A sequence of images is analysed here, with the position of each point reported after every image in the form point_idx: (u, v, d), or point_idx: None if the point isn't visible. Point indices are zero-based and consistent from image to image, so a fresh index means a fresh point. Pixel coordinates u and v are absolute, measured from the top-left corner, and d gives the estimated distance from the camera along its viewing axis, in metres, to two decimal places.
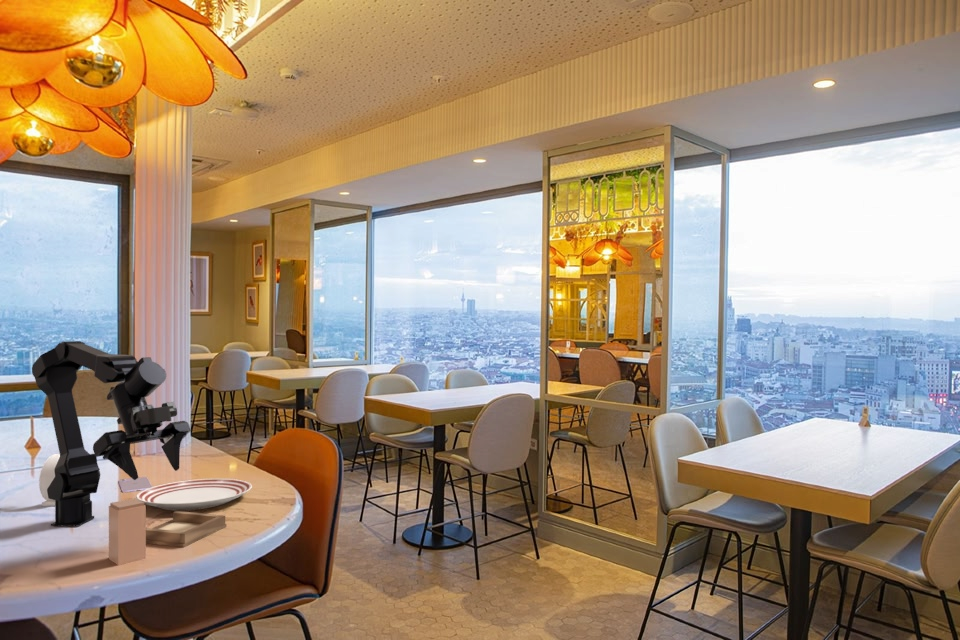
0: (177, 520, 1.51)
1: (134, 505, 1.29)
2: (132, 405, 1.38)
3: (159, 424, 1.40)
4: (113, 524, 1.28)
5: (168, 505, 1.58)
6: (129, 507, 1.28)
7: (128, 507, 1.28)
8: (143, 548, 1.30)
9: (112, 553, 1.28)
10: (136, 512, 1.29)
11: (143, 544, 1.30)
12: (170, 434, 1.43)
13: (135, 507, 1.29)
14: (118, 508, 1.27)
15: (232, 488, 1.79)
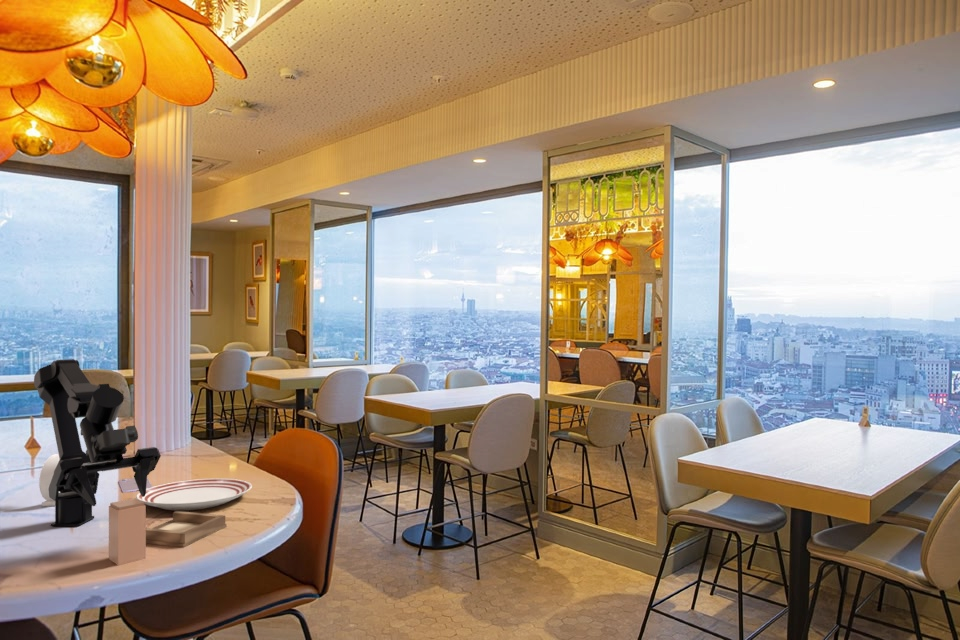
0: (177, 520, 1.51)
1: (134, 505, 1.29)
2: (95, 434, 1.37)
3: (123, 450, 1.37)
4: (113, 524, 1.28)
5: (168, 505, 1.58)
6: (129, 507, 1.28)
7: (128, 507, 1.28)
8: (143, 548, 1.30)
9: (112, 553, 1.28)
10: (136, 512, 1.29)
11: (143, 544, 1.30)
12: (138, 461, 1.40)
13: (135, 507, 1.29)
14: (118, 508, 1.27)
15: (232, 488, 1.79)
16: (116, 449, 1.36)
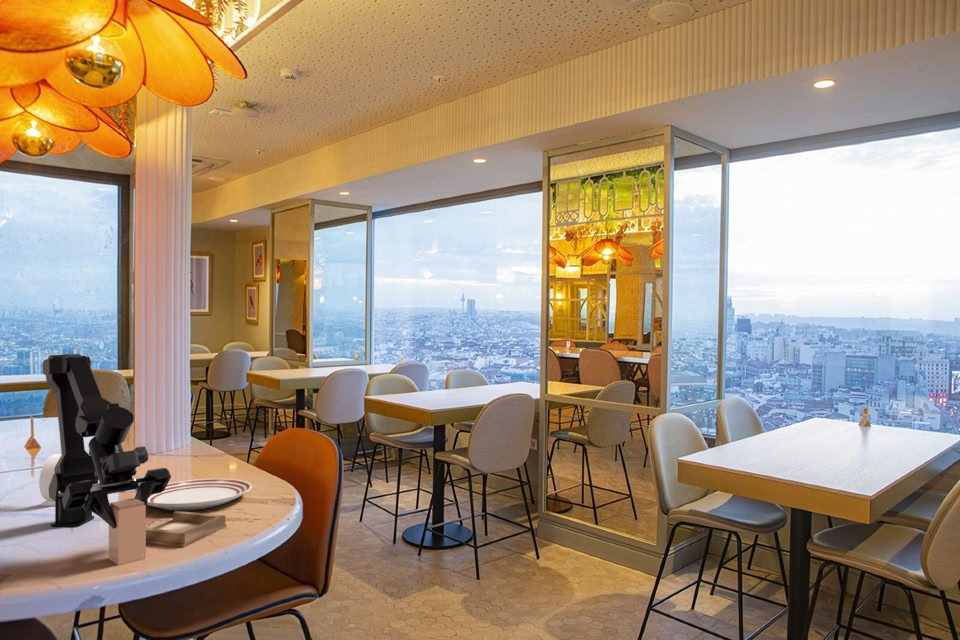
0: (177, 520, 1.51)
1: (134, 505, 1.29)
2: (104, 455, 1.34)
3: (133, 472, 1.34)
4: None
5: (168, 505, 1.58)
6: (129, 507, 1.28)
7: (128, 507, 1.28)
8: (143, 548, 1.30)
9: (112, 553, 1.28)
10: (136, 512, 1.29)
11: (143, 544, 1.30)
12: (139, 484, 1.35)
13: (135, 507, 1.29)
14: (118, 508, 1.27)
15: (232, 488, 1.79)
16: (126, 471, 1.33)
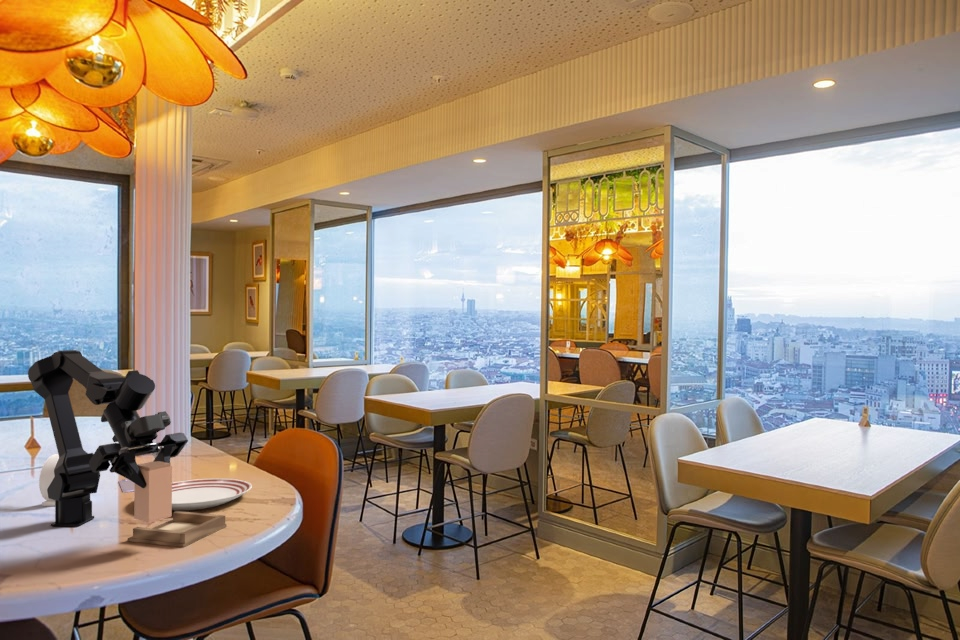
0: (177, 520, 1.51)
1: (162, 466, 1.35)
2: (125, 420, 1.38)
3: (154, 435, 1.39)
4: None
5: None
6: (158, 467, 1.34)
7: (157, 467, 1.34)
8: (169, 507, 1.36)
9: (139, 512, 1.34)
10: (163, 472, 1.35)
11: (169, 503, 1.36)
12: (159, 448, 1.41)
13: (163, 467, 1.35)
14: (148, 468, 1.33)
15: (232, 488, 1.79)
16: (148, 435, 1.38)
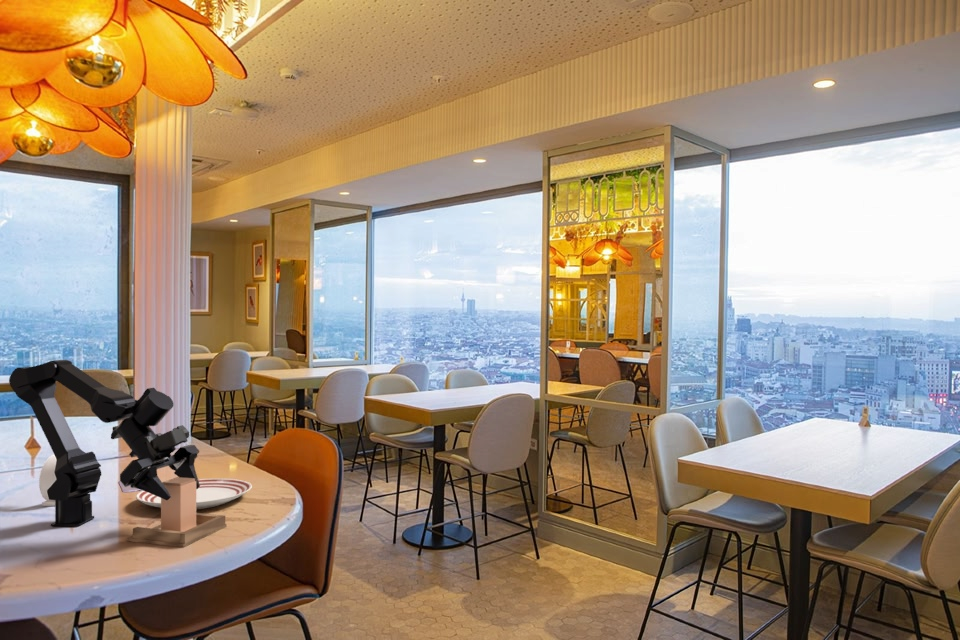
0: None
1: (189, 481, 1.45)
2: (144, 435, 1.45)
3: (173, 448, 1.48)
4: (170, 500, 1.42)
5: None
6: (186, 483, 1.44)
7: (185, 483, 1.44)
8: (195, 519, 1.46)
9: (168, 526, 1.43)
10: (190, 487, 1.45)
11: (195, 515, 1.46)
12: (182, 458, 1.51)
13: (189, 482, 1.45)
14: (178, 484, 1.42)
15: (232, 488, 1.79)
16: (168, 448, 1.47)
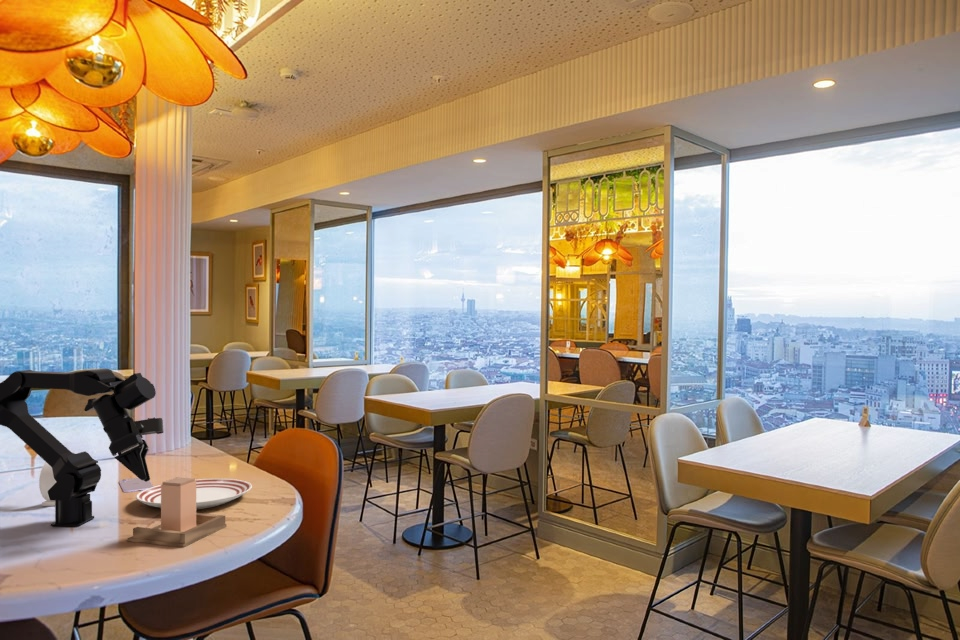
0: None
1: (189, 481, 1.45)
2: (126, 415, 1.51)
3: None
4: (170, 500, 1.42)
5: None
6: (186, 483, 1.44)
7: (185, 483, 1.44)
8: (195, 519, 1.46)
9: (168, 526, 1.43)
10: (190, 487, 1.45)
11: (195, 515, 1.46)
12: None
13: (189, 482, 1.45)
14: (178, 484, 1.42)
15: (232, 488, 1.79)
16: (141, 434, 1.53)
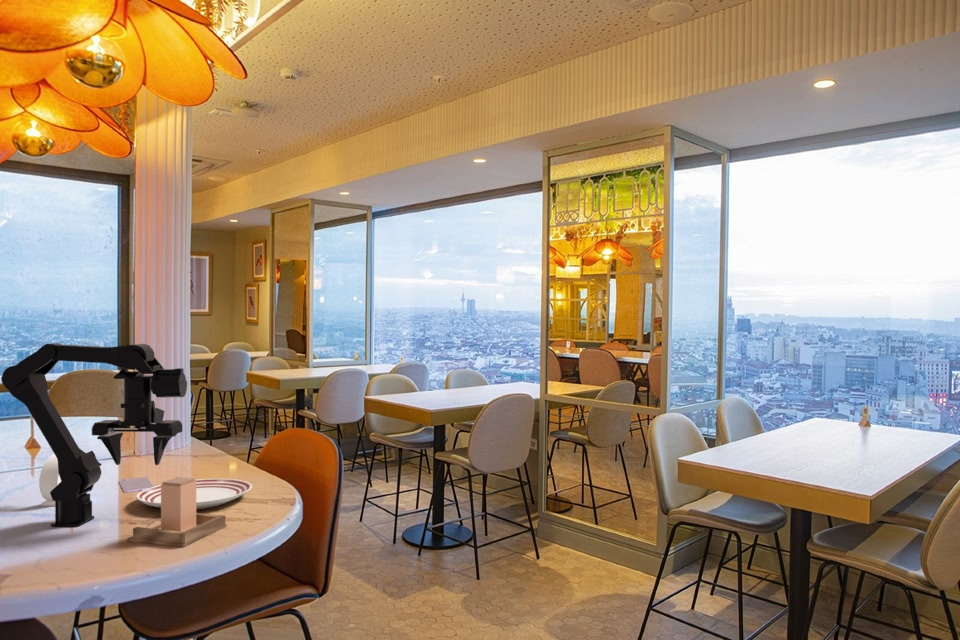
0: None
1: (189, 481, 1.45)
2: None
3: None
4: (170, 500, 1.42)
5: None
6: (186, 483, 1.44)
7: (185, 483, 1.44)
8: (195, 519, 1.46)
9: (168, 526, 1.43)
10: (190, 487, 1.45)
11: (195, 515, 1.46)
12: None
13: (189, 482, 1.45)
14: (178, 484, 1.42)
15: (232, 488, 1.79)
16: None
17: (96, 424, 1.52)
